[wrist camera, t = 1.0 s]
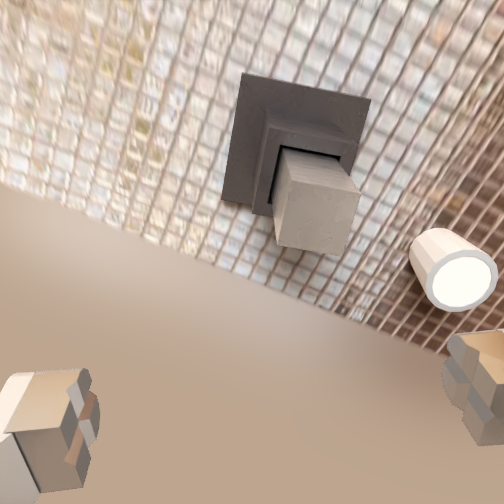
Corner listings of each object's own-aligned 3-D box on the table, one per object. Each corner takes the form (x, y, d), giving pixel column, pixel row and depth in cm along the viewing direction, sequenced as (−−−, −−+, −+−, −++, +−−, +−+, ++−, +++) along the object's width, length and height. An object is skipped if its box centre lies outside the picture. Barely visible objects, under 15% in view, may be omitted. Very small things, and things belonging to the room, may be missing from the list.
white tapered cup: (434, 289, 50) (460, 324, 43) (389, 258, 48) (410, 290, 42) (479, 244, 47) (514, 274, 41) (434, 210, 46) (463, 236, 39)
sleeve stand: (367, 98, 41) (409, 115, 30) (333, 215, 46) (358, 267, 35) (242, 72, 40) (238, 80, 29) (221, 195, 45) (211, 241, 34)
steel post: (318, 135, 41) (362, 192, 24) (308, 177, 42) (342, 257, 26) (276, 126, 40) (291, 179, 24) (267, 169, 42) (275, 245, 26)
